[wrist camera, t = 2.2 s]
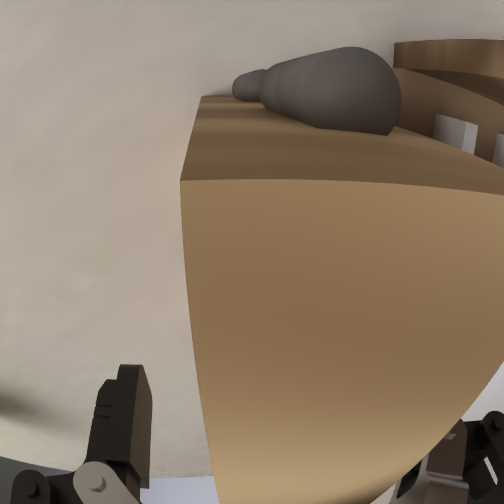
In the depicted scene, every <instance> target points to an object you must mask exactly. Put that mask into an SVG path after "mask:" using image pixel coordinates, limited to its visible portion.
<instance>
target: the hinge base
mask: <svg viewBox="0 0 504 504" xmlns="http://www.w3.org/2000/svg"><path fill="white" fill-rule="evenodd" d="M393 72H394V74H395V75H396V78H397V80H398V83H399V86H400V90H401V99H402V101H401V111H400V115H399V118H398V121H397V123H396V125H395V126H396V127H399V128H402V129H405V130H408V131H411V132H414V133H417V134H420V135H423V136H426V137H429V138H432V139H434V140H437V141H440V142H442V143H445V144H448V145H450V146H453V147H455V148H458V149H460V150H463V151H465V152H468V153H470V154H472V155H475V156H477V157H479V158H482V159H484V160H486V161H488V162H491V163H493V164H495V165H497V166H499V167H501V168H503V169H504V40H485V39H447V40H426V41H412V42H401V43H395V48H394V67H393Z"/></svg>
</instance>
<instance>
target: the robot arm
mask: <svg viewBox="0 0 504 504" xmlns="http://www.w3.org/2000/svg"><path fill="white" fill-rule="evenodd" d="M151 421H152V395H151V390H150V387H149V384H148V381H147V377H146V374H145V371H144V367H143V365H129V364H121V365H120V366H119V370H118V375H117V380H111V379H107V380H106V381H105V382H104V384H103V385H102V387H101V388H100V389H99V391H98V395H97V400H96V407H95V410H94V418H93V420H92V426H91V431H90V437H89V443H88V449H87V455H86V459H85V461H84V463H83V464H82V465H81V466H80V467H79V468H78V469H77V470H76V471H74V472H72V473H69V474H63V475H56V476H47V477H45V476H44V475H42V474H41V473H40V472H38V471H35V470H24V471H22V472H20V473H19V474H18V475H17V476H16V477H15V479H14V481H13V487H12V494H11V502H10V504H142V503H141V501H140V488H147V489H149V469H150V440H151ZM486 457H488V459H489V461H490V463H491V465H492V467H493V470H494V472H495V474H496V476H497V479H498V482H497V485H496V484H495V483H494V481H493V478H492V476H491V474H490V472H489V470H488V468H487V466H486V464H485V461H484V459H485V458H486ZM389 504H504V414H503V413H501V412H499V411H491V412H489V413H488V414H487V415H486V416H485V417H484V418H483V419H482V420H479V421H468V422H463V420H462V419H459V420H458V422H457V423H456V424H455V425H454V426H453V427H452V428H451V430H450V431H449V432H448V433H447V434H446V435H445V436H444V437H443V438H442V439H441V440H440V441H439V442H438V443H437V445H436V446H435V447H434V448H433V449H432V450H431V451H430V452H429V453H428V454H427V455H426V456H425V457H424V458H423V459H421V460H420V461H419V462H418V463H417V464H416V465H415V466H414V467H413V468H412V469H411V470H410V471H409V472H408V473H406V474H405V475H404V476H403V477H402V478H401V479H400V480H398V481H397V483H396V486H395V489H394V492H393V496H392V498H391V500H390V503H389Z"/></svg>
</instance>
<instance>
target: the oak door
mask: <svg viewBox="0 0 504 504" xmlns="http://www.w3.org/2000/svg"><path fill="white" fill-rule="evenodd" d="M232 91H233V95H234V96H235V97H201V101H200V104H199V108H198V111H197V115H196V118H195V122H194V126H193V130H192V133H191V137H190V141H189V145H188V149H187V153H186V157H185V161H184V165H183V170H182V174H181V178H180V195H181V214H182V231H183V246H184V259H185V271H186V283H187V293H188V303H189V313H190V322H191V331H192V340H193V348H194V356H195V364H196V371H197V379H198V386H199V393H200V399H201V406H202V412H203V418H204V424H205V430H206V436H207V442H208V448H209V453H210V459H211V464H212V469H213V474H214V479H215V484H216V489H217V494H218V498H219V503H220V504H370V503H371V502H373V501H374V500H375V499H376V498H378V497H379V496H380V495H382V494H383V493H384V492H385V491H387V490H388V489H389V488H390V487H391V486H393V485H394V484H395V483H396V482H397V481H398V480H400V479H401V478H402V477H403V476H404V475H405V474H406V473H408V472H409V471H410V470H411V469H412V468H413V467H414V466H415V465H416V464H417V463H418V462H419V461H420V460H421V459H423V458H424V457H425V456H426V455H427V454H428V453H429V452H430V451H431V450H432V449H433V448H434V447H435V446H436V445H437V443H438V442H439V441H440V440H441V439H442V438H443V437H444V436H445V435H446V434H447V433H448V432H449V431H450V430H451V428H452V427H453V426H454V425H455V424H456V423H457V422H458V420H459V419H460V418H461V417H462V416H463V415H464V413H465V412H466V411H467V410H468V409H469V407H470V406H471V405H472V404H473V402H474V401H475V400H476V398H477V397H478V396H479V395H480V393H481V392H482V391H483V390H484V388H485V387H486V385H487V384H488V383H489V381H490V380H491V379H492V377H493V376H494V374H495V373H496V372H497V370H498V369H499V367H500V366H501V364H502V363H503V361H504V169H503V168H501V167H499V166H497V165H495V164H493V163H491V162H488V161H486V160H484V159H482V158H479V157H477V156H475V155H472V154H470V153H468V152H465V151H463V150H460V149H458V148H455V147H453V146H450V145H448V144H445V143H442V142H440V141H437V140H434V139H432V138H429V137H426V136H423V135H420V134H417V133H414V132H411V131H408V130H405V129H402V128H399V127H396V126H395V125H396V123H397V121H398V118H399V115H400V111H401V101H402V99H401V90H400V86H399V83H398V80H397V78H396V75H395V74H394V72H393V70H392V69H391V67H390V66H389V65H388V64H387V63H386V62H385V61H384V60H383V59H382V58H381V57H380V56H378V55H377V54H375V53H373V52H371V51H369V50H367V49H363V48H359V47H343V48H338V49H333V50H329V51H324V52H320V53H316V54H311V55H307V56H303V57H300V58H296V59H292V60H288V61H285V62H281V63H278V64H275V65H274V66H272V67H270V68H269V69H268V70H264V69H260V70H255V71H252V72H249V73H246V74H243V75H241V76H239V77H238V78H237V79H236V80H235V81H234V83H233V86H232Z"/></svg>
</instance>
